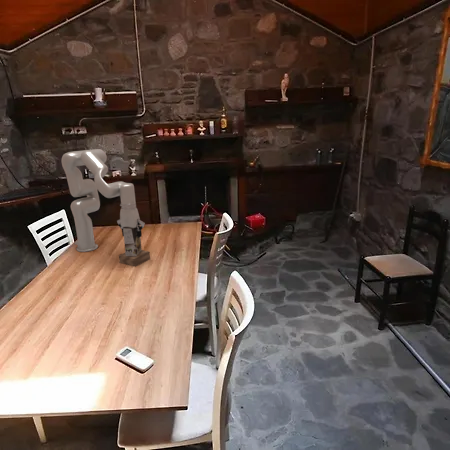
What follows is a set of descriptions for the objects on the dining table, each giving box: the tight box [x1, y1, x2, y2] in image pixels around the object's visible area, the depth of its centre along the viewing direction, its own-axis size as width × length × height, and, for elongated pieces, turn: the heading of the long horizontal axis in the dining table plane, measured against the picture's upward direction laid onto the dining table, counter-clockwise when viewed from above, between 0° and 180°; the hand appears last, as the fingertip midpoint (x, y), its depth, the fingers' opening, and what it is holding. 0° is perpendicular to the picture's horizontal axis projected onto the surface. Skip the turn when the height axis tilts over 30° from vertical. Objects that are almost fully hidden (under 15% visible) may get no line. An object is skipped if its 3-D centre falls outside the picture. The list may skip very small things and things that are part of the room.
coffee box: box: [123, 227, 143, 256], centre depth 195 cm, size 9×6×16 cm
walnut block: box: [118, 249, 151, 267], centre depth 198 cm, size 12×12×5 cm
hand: (132, 236), depth 194 cm, fingers open, 9 cm apart
